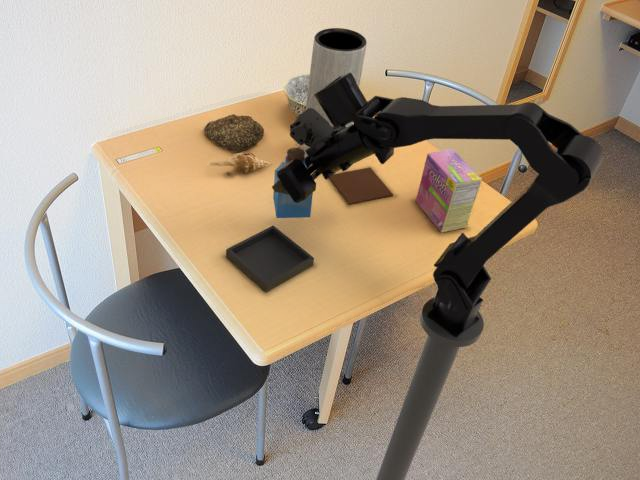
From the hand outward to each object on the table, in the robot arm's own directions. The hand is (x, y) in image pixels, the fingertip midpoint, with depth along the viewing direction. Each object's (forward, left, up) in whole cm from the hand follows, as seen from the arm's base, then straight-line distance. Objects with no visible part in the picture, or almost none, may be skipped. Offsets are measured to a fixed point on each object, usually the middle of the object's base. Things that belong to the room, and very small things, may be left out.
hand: (287, 177), depth 118 cm
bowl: (+25, -32, -11) cm, 42 cm away
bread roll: (+30, -12, -11) cm, 34 cm away
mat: (0, -21, -11) cm, 24 cm away
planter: (+12, -22, -11) cm, 28 cm away
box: (-16, -27, -11) cm, 34 cm away
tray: (-6, +9, -11) cm, 16 cm away
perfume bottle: (-1, 0, -6) cm, 7 cm away
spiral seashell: (+19, -4, -11) cm, 22 cm away
